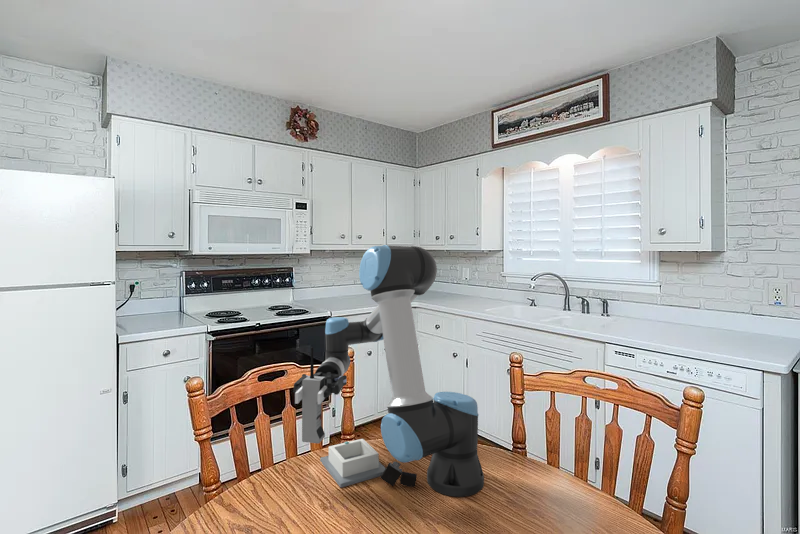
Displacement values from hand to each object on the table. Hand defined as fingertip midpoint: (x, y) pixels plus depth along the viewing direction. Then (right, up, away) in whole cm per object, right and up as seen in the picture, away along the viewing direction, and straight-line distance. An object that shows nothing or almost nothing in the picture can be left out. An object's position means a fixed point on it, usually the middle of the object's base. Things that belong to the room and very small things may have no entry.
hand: (307, 398), depth 104 cm
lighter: (+23, -24, +4) cm, 34 cm away
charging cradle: (+10, -24, +13) cm, 29 cm away
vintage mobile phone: (0, -13, +6) cm, 14 cm away
